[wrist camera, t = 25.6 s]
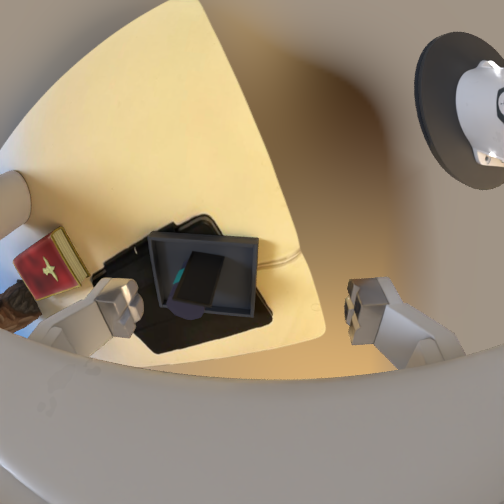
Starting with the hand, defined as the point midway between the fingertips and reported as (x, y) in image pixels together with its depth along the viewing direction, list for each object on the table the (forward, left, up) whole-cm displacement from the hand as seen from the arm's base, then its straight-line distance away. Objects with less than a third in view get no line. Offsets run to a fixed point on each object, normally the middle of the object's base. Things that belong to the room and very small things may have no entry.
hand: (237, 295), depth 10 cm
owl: (+65, +35, -29) cm, 79 cm away
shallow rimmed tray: (+9, +19, -29) cm, 36 cm away
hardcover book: (+46, +21, -29) cm, 58 cm away
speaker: (+9, +18, -29) cm, 35 cm away
